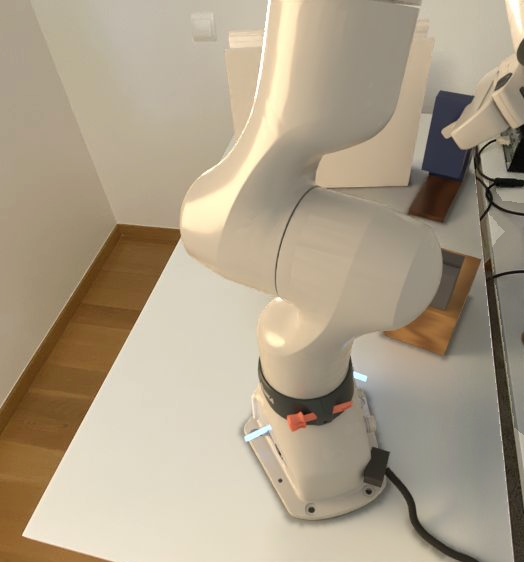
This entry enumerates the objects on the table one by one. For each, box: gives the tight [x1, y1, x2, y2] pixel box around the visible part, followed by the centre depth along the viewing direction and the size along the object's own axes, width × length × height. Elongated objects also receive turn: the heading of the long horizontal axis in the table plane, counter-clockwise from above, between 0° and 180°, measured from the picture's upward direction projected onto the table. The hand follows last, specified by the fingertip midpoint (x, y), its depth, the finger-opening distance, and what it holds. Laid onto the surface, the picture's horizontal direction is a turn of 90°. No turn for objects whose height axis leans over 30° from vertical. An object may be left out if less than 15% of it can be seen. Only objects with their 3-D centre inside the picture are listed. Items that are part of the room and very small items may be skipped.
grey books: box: [429, 250, 465, 311], centre depth 71 cm, size 6×4×8 cm, turn 62°
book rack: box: [407, 146, 476, 224], centre depth 96 cm, size 7×18×15 cm, turn 151°
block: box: [223, 18, 436, 189], centre depth 97 cm, size 35×8×28 cm, turn 86°
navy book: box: [420, 89, 475, 178], centre depth 89 cm, size 7×2×14 cm, turn 61°
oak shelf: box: [383, 247, 483, 357], centre depth 80 cm, size 10×14×9 cm
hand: (447, 127), depth 88 cm, fingers closed on navy book, 2 cm apart
